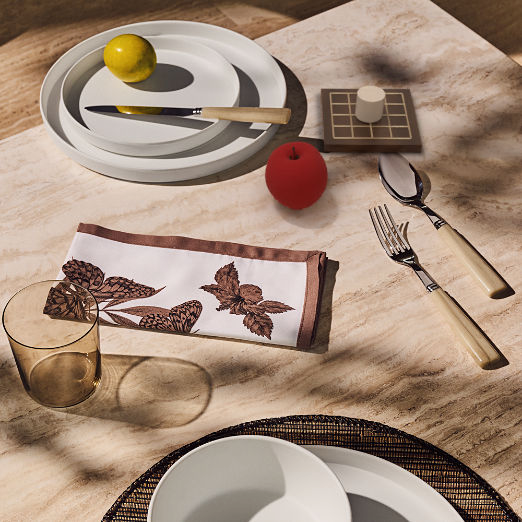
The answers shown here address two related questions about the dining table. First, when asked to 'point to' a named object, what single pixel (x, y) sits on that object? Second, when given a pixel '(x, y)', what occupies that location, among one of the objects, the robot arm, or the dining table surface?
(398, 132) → the board
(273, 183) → the apple
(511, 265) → the dining table surface
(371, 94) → the white cylinder
